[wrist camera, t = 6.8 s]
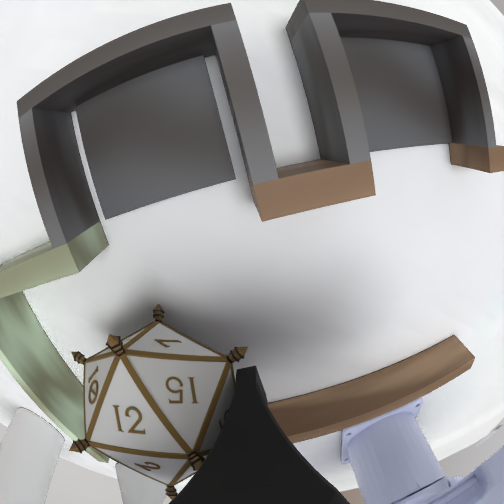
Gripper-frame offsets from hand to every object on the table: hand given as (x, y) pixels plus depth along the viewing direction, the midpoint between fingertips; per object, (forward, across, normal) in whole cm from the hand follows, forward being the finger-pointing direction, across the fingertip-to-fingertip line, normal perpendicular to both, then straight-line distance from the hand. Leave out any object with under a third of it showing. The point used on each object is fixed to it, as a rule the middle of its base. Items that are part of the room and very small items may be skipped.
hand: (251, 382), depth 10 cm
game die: (+4, +4, 0) cm, 6 cm away
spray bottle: (+4, +27, +10) cm, 29 cm away
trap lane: (+4, 0, -3) cm, 5 cm away
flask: (+4, +17, +19) cm, 26 cm away
